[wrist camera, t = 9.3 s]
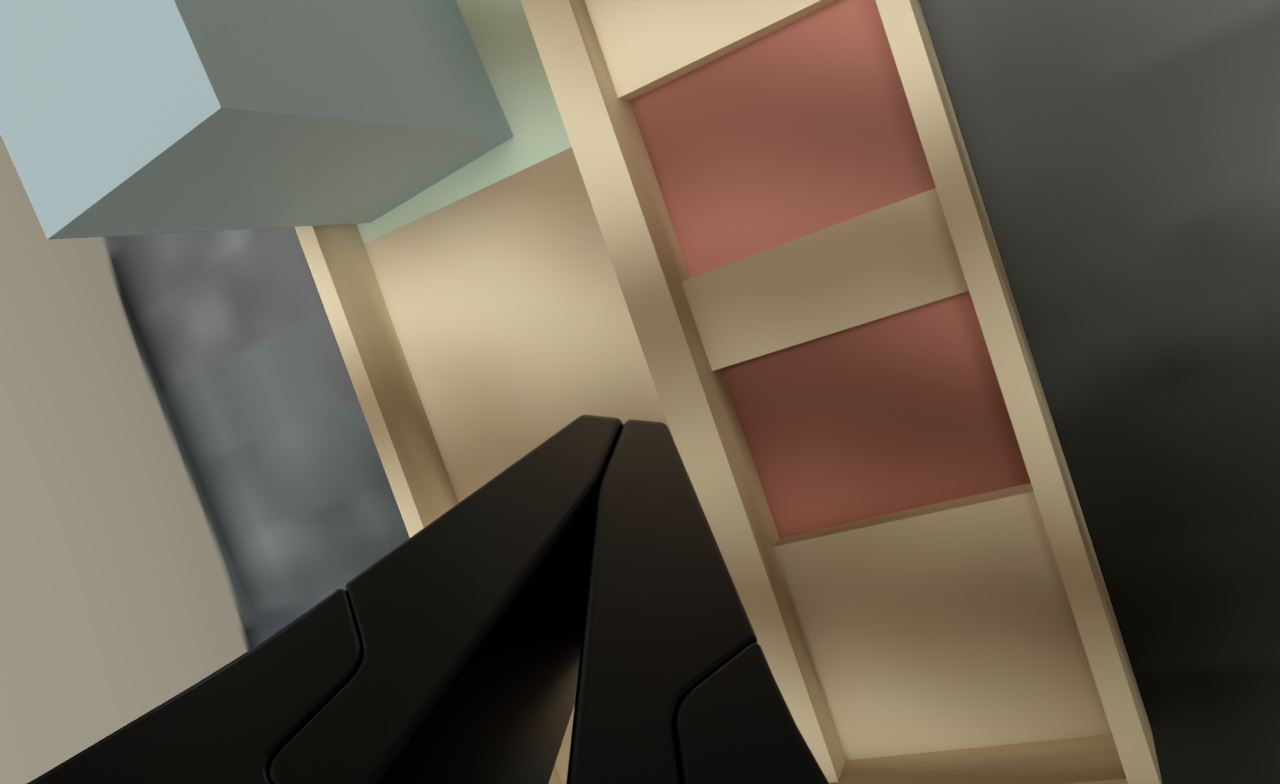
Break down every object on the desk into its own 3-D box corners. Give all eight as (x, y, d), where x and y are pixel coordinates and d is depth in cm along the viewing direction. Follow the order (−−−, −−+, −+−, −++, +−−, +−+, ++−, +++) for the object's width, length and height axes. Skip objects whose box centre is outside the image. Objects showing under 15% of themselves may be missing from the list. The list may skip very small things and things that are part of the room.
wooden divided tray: (1150, 726, 18) (1165, 802, 16) (571, 785, 24) (524, 845, 22) (817, -317, 17) (782, -395, 15) (292, 21, 23) (211, 3, 21)
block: (513, 136, 20) (221, 108, 13) (370, 222, 22) (47, 239, 15) (431, -55, 20) (89, -191, 13) (294, 49, 22) (-68, -19, 15)
